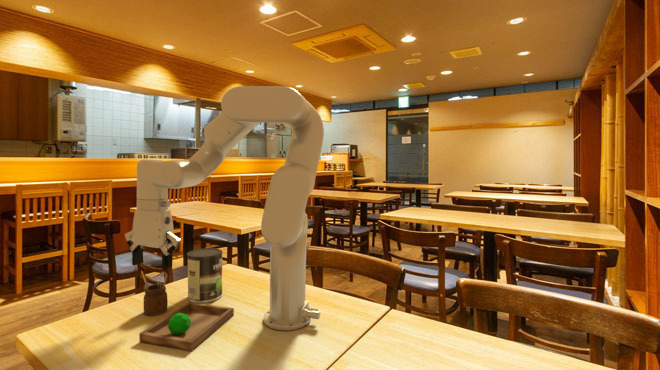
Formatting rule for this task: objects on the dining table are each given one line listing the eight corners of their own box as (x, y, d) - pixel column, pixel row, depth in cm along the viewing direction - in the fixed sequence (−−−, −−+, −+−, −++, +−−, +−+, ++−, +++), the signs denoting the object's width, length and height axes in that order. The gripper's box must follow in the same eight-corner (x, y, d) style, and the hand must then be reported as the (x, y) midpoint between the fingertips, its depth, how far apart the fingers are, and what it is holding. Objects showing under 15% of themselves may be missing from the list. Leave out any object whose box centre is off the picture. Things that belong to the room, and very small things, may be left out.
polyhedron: (175, 327, 84) (175, 308, 83) (194, 328, 83) (194, 310, 83) (164, 337, 79) (163, 318, 78) (184, 339, 78) (183, 319, 78)
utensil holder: (168, 313, 92) (167, 271, 91) (142, 318, 89) (141, 274, 88) (166, 305, 97) (166, 265, 97) (142, 309, 94) (141, 268, 93)
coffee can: (227, 290, 109) (227, 248, 108) (215, 304, 99) (215, 257, 98) (195, 289, 110) (195, 247, 108) (181, 303, 99) (180, 256, 98)
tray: (233, 315, 92) (233, 308, 92) (191, 351, 75) (191, 342, 74) (189, 309, 95) (189, 301, 95) (139, 342, 78) (139, 333, 78)
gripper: (189, 205, 93) (188, 265, 94) (137, 201, 97) (137, 258, 98) (170, 209, 85) (169, 274, 87) (114, 204, 89) (115, 266, 91)
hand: (152, 266), depth 92 cm, fingers open, 9 cm apart
